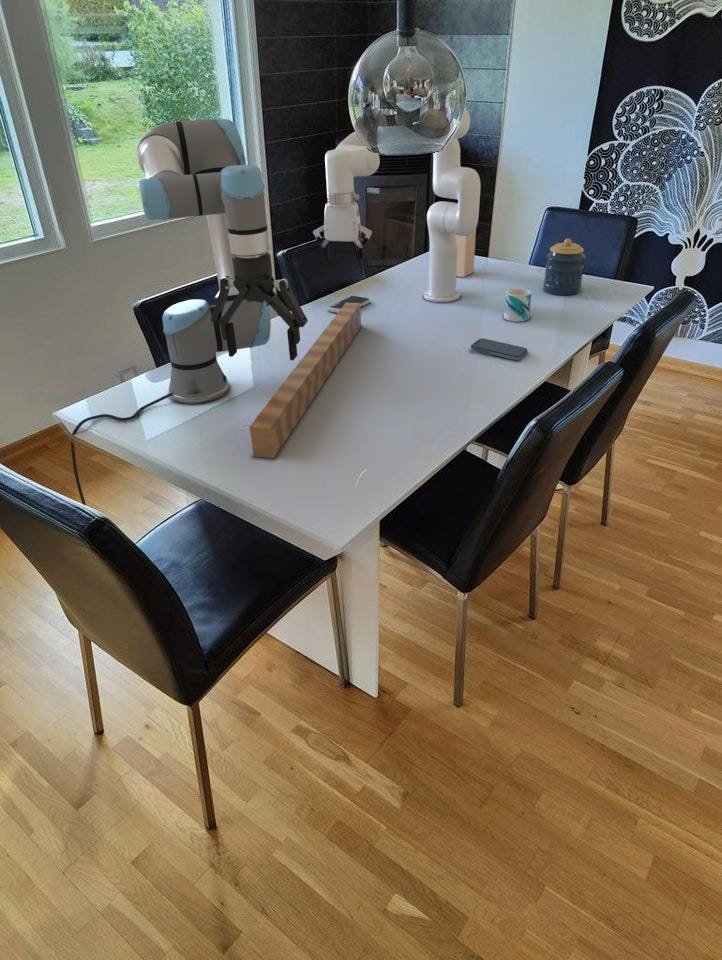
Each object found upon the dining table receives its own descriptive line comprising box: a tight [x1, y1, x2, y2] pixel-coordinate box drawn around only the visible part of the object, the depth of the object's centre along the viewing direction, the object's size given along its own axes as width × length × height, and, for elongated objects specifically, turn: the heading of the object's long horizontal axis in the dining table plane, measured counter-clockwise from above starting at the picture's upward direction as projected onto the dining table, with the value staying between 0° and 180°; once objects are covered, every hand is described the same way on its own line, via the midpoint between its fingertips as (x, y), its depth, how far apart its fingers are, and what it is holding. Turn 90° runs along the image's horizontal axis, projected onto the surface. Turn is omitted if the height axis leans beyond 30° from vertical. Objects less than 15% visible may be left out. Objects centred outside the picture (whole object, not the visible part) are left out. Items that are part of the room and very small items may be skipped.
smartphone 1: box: [327, 295, 370, 314], centre depth 231 cm, size 8×1×15 cm
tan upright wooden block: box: [455, 228, 477, 278], centre depth 256 cm, size 13×9×22 cm
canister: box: [543, 238, 586, 296], centre depth 234 cm, size 13×13×18 cm
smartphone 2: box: [470, 337, 528, 361], centre depth 193 cm, size 8×2×15 cm
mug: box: [503, 287, 532, 323], centre depth 216 cm, size 8×12×8 cm
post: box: [249, 303, 362, 459], centre depth 180 cm, size 84×5×8 cm, turn 167°
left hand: (263, 356), depth 142 cm, fingers open, 13 cm apart
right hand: (343, 260), depth 197 cm, fingers open, 9 cm apart
